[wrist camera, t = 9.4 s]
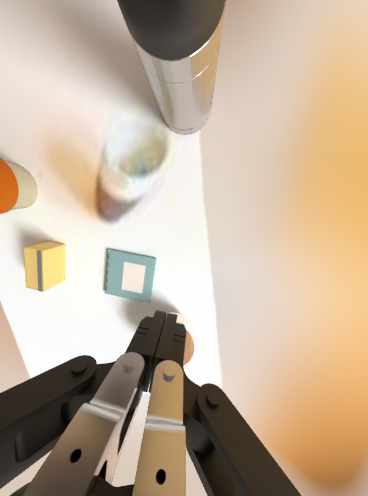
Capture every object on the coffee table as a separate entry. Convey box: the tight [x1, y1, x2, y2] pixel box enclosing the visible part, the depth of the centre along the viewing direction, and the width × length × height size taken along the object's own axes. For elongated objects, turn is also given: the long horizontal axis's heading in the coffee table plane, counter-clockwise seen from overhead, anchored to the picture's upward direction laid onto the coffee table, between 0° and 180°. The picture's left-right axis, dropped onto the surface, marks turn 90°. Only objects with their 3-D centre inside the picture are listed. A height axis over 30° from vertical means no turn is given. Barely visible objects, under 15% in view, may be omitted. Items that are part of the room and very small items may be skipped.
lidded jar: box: [166, 312, 194, 365], centre depth 38 cm, size 11×11×9 cm
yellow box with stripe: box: [24, 241, 65, 291], centre depth 38 cm, size 9×4×6 cm, turn 170°
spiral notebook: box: [105, 249, 156, 302], centre depth 40 cm, size 11×11×1 cm
